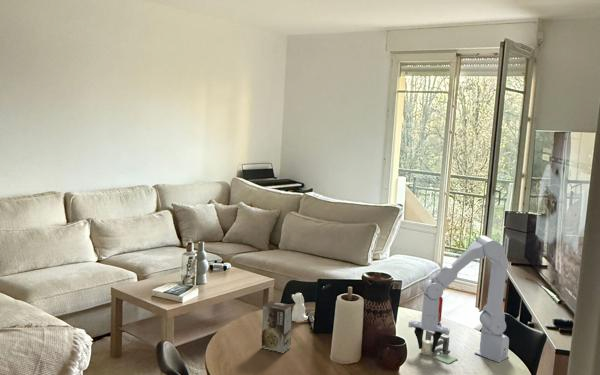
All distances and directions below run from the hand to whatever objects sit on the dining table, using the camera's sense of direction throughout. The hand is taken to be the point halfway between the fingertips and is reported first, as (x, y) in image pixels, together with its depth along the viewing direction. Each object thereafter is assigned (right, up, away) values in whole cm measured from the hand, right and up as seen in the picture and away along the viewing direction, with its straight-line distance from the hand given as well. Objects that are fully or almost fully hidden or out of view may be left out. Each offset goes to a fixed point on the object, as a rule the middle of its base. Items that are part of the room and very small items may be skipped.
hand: (426, 349), depth 201 cm
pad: (+6, -2, -4) cm, 7 cm away
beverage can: (+10, +2, +33) cm, 35 cm away
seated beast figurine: (-47, +4, +26) cm, 53 cm away
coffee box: (-55, +1, -3) cm, 55 cm away
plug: (+2, -1, +3) cm, 4 cm away
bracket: (+4, -1, +5) cm, 6 cm away
